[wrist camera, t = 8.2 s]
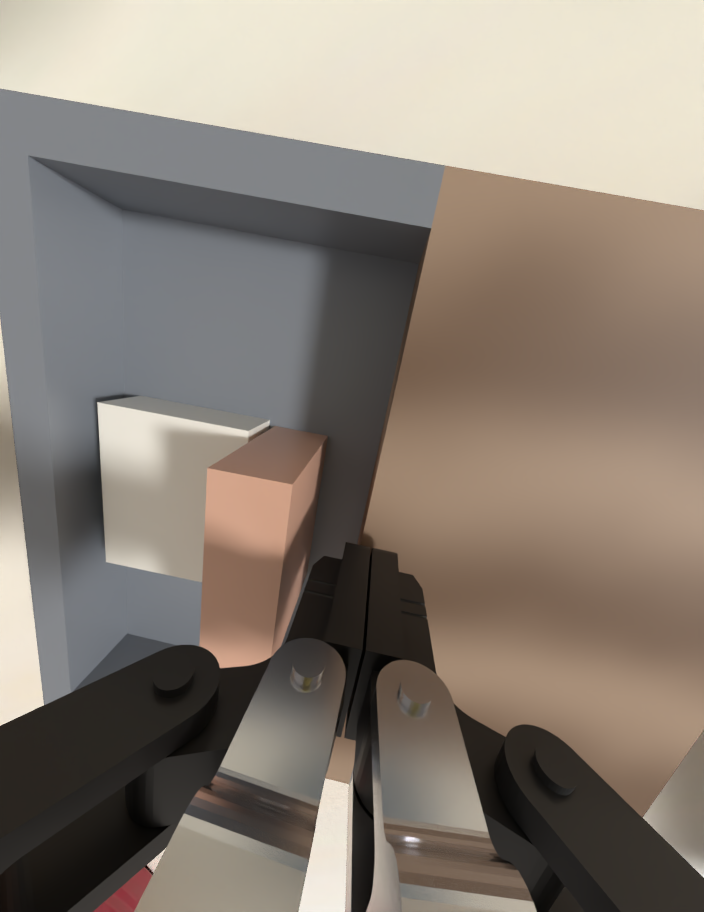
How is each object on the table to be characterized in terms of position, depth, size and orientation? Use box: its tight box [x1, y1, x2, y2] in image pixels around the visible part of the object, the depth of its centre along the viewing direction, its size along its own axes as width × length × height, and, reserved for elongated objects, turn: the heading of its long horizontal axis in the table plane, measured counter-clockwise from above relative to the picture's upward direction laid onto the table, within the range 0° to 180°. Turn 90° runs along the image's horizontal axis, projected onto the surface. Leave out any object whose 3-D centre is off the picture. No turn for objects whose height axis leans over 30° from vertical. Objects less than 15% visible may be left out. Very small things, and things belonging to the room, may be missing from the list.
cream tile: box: [97, 396, 270, 582], centre depth 12 cm, size 6×5×2 cm
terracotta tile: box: [199, 426, 328, 668], centre depth 11 cm, size 6×5×2 cm
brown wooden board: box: [325, 166, 704, 817], centre depth 12 cm, size 20×12×4 cm, turn 169°
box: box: [0, 89, 445, 705], centre depth 12 cm, size 20×11×4 cm, turn 169°
